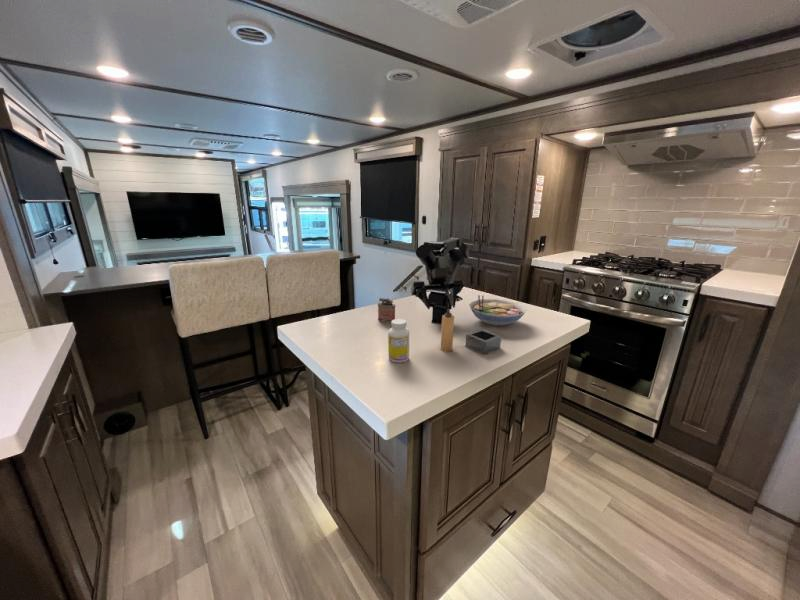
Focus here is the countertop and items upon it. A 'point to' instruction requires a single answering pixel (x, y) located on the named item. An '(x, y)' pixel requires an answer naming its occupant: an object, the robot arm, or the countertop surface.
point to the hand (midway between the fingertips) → (441, 308)
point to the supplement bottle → (398, 341)
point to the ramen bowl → (497, 311)
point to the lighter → (386, 310)
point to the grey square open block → (483, 341)
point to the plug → (447, 331)
